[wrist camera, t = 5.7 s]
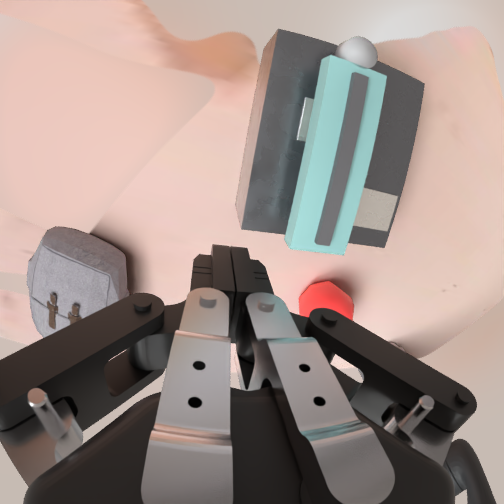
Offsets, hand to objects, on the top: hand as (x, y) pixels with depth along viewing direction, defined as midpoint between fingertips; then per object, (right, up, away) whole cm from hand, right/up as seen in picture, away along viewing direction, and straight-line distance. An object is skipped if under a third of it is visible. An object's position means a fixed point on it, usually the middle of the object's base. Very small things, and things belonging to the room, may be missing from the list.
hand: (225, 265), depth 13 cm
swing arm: (+8, +10, +9) cm, 16 cm away
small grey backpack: (-23, -5, +24) cm, 34 cm away
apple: (+11, -6, +29) cm, 32 cm away
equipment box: (+9, +14, +19) cm, 25 cm away
